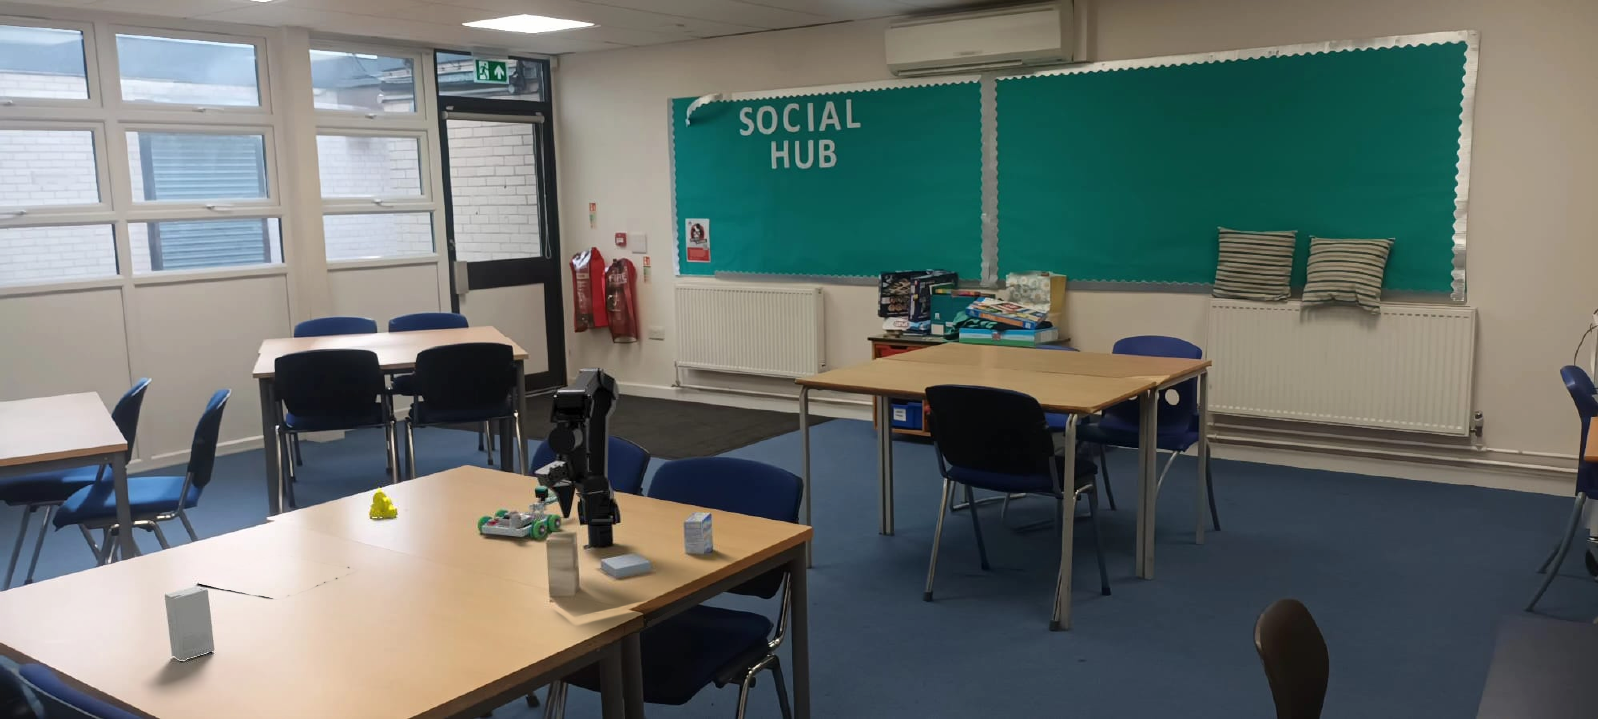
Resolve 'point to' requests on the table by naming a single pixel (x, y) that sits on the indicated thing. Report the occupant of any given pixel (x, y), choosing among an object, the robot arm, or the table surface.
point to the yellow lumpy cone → (382, 506)
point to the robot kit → (524, 518)
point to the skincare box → (189, 622)
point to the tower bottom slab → (624, 576)
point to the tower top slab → (625, 565)
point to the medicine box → (698, 533)
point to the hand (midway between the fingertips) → (577, 520)
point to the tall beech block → (562, 564)
